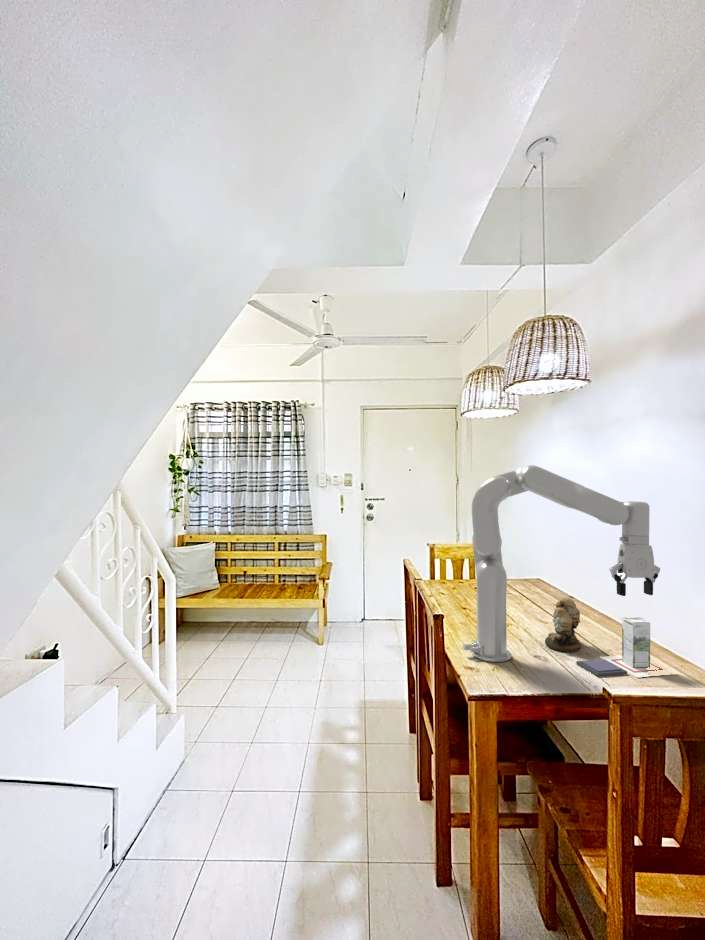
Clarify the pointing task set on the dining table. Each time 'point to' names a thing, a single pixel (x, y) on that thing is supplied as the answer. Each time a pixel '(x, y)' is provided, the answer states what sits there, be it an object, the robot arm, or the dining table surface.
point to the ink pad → (601, 667)
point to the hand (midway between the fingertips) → (634, 594)
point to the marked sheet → (632, 671)
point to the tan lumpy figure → (564, 627)
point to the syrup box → (636, 642)
